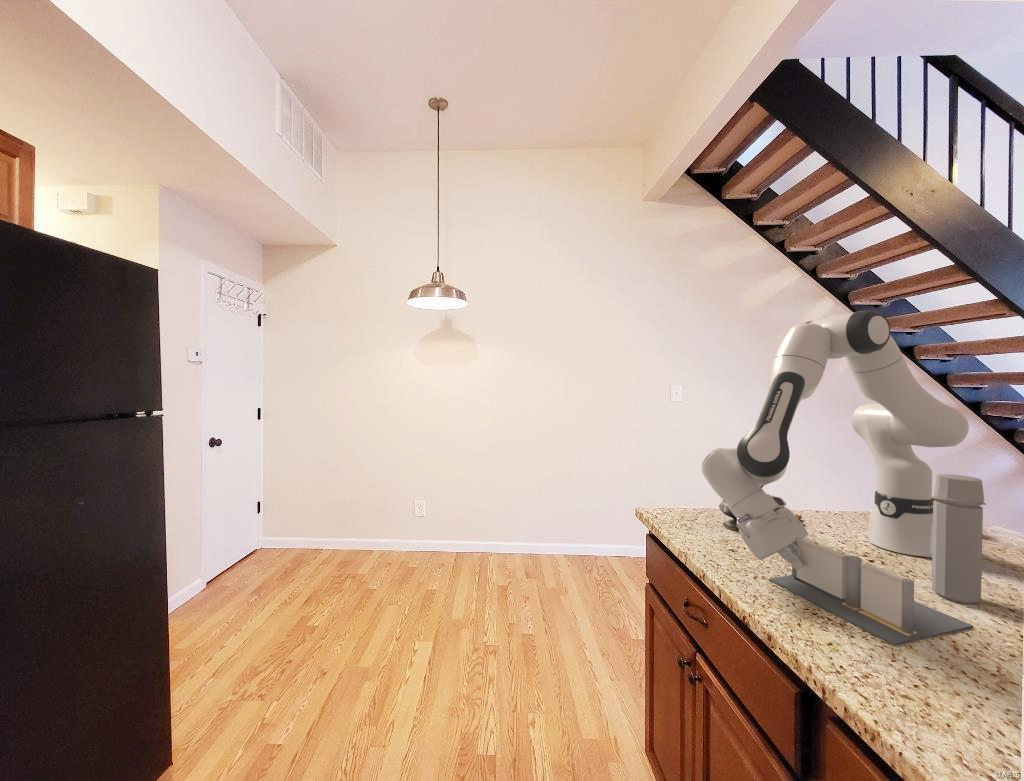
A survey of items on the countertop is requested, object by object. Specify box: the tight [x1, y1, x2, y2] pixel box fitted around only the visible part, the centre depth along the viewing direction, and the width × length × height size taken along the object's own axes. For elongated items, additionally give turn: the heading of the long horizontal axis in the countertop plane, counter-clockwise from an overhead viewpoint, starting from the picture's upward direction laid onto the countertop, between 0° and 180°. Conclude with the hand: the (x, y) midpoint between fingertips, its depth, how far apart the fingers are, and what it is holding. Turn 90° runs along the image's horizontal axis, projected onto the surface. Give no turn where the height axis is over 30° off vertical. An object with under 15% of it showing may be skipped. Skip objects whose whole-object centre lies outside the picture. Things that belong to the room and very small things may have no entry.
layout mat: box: [768, 574, 974, 647], centre depth 87 cm, size 20×25×1 cm
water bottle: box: [931, 473, 987, 605], centre depth 90 cm, size 9×8×25 cm
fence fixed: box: [845, 554, 915, 634], centre depth 80 cm, size 2×11×10 cm, turn 16°
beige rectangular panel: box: [791, 537, 848, 599], centre depth 92 cm, size 2×11×9 cm, turn 16°
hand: (802, 567), depth 93 cm, fingers closed
